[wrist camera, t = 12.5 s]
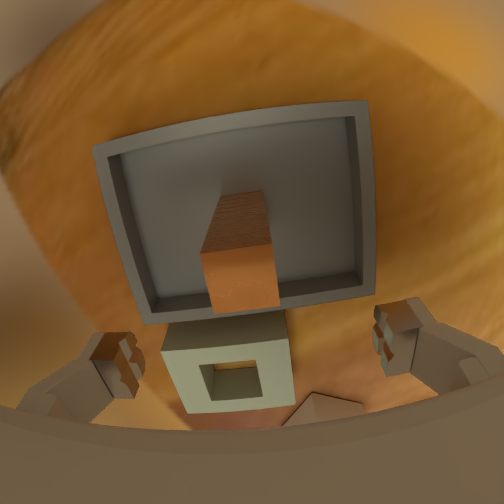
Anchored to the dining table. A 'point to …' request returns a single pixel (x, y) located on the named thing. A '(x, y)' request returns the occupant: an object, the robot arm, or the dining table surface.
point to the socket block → (230, 350)
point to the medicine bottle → (324, 410)
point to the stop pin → (240, 255)
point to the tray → (239, 181)
